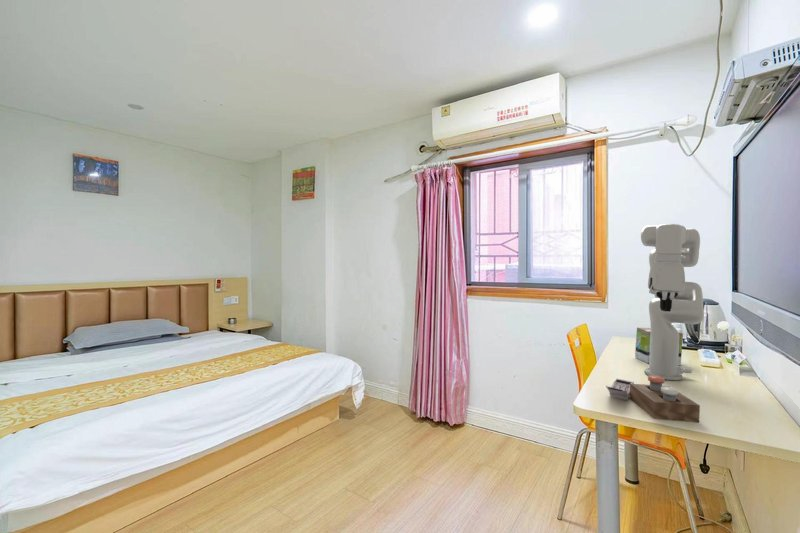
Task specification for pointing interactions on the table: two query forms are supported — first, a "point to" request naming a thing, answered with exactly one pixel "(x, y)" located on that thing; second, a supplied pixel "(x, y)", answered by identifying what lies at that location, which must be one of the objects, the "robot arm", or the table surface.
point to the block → (664, 404)
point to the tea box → (644, 344)
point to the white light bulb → (669, 393)
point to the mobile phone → (620, 389)
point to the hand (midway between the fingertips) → (665, 310)
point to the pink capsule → (655, 382)
